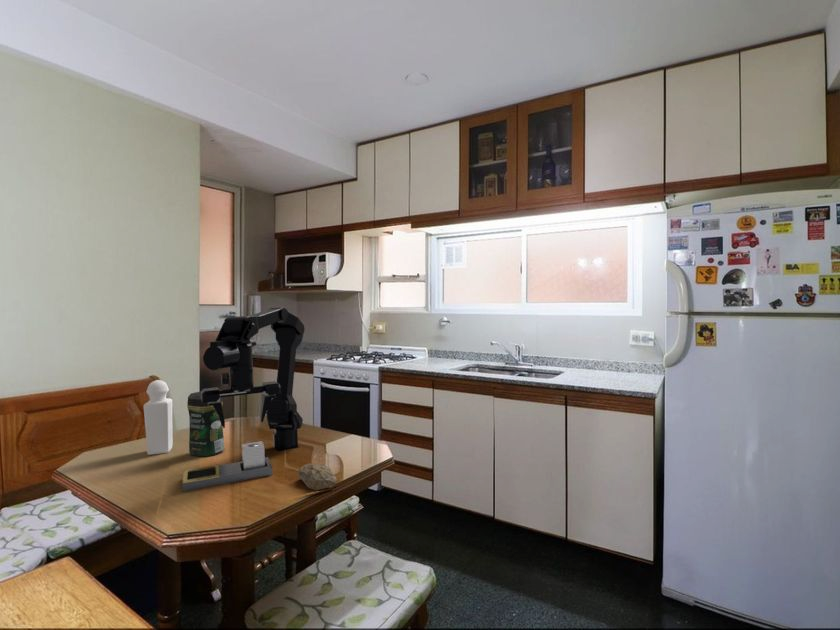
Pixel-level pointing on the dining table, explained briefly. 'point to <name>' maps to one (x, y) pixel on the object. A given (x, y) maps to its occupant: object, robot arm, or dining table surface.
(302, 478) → the rock
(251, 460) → the square slider block
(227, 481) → the grey socket board
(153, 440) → the white bottle
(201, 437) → the coffee jar
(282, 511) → the dining table surface
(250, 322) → the robot arm
